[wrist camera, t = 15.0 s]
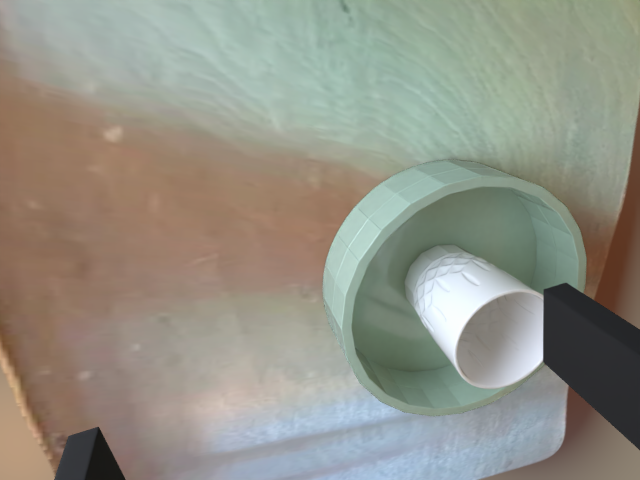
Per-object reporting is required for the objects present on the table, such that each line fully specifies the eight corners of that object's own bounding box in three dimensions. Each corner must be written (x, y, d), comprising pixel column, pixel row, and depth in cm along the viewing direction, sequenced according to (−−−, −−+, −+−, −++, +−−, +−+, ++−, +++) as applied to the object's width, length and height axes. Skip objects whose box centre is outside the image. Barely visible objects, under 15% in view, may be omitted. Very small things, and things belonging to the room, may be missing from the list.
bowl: (334, 154, 36) (359, 171, 31) (562, 164, 41) (618, 180, 36) (313, 380, 43) (329, 427, 38) (510, 365, 48) (550, 404, 43)
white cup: (496, 256, 42) (578, 311, 33) (450, 329, 44) (516, 401, 35) (427, 222, 39) (496, 272, 30) (380, 302, 41) (433, 372, 32)
